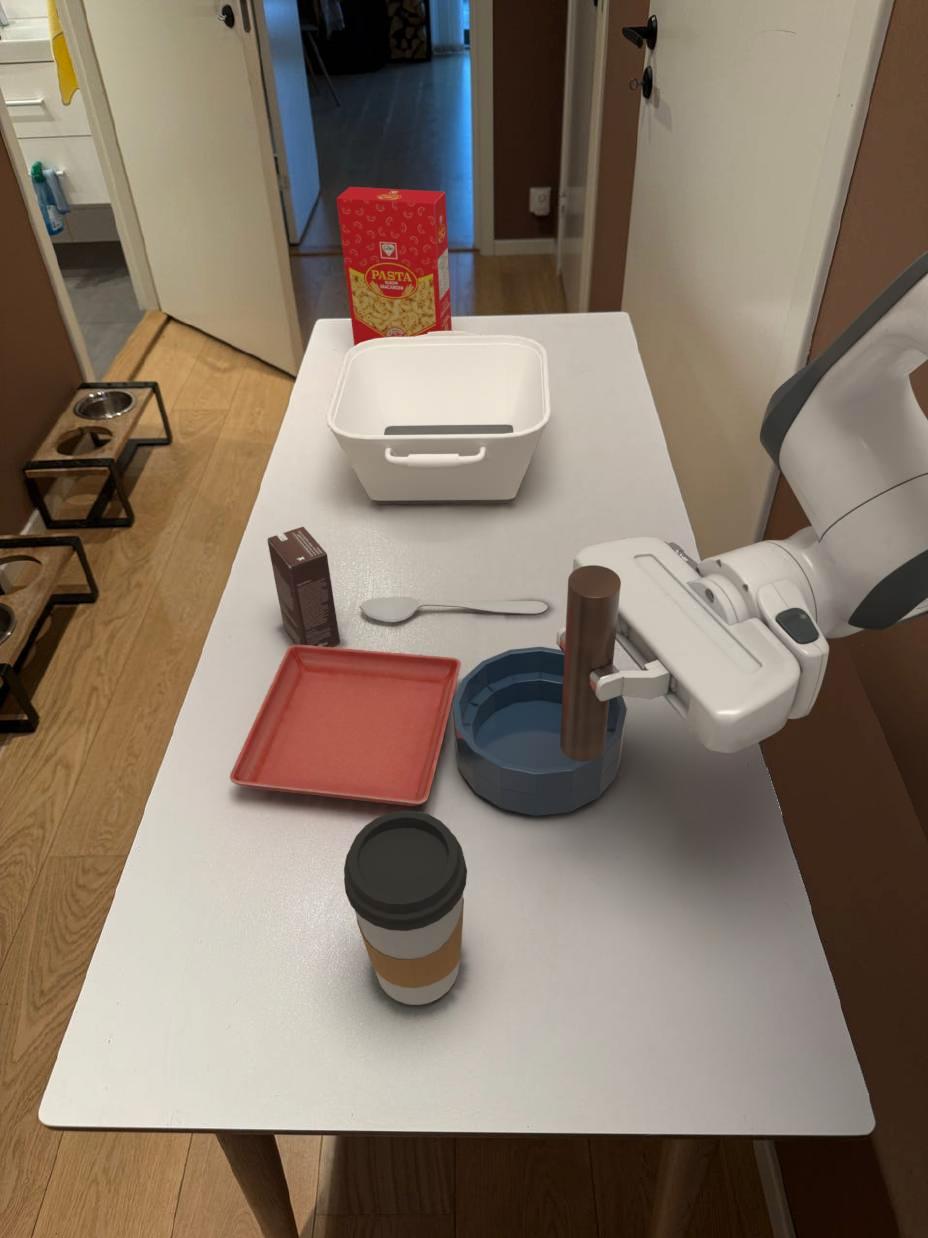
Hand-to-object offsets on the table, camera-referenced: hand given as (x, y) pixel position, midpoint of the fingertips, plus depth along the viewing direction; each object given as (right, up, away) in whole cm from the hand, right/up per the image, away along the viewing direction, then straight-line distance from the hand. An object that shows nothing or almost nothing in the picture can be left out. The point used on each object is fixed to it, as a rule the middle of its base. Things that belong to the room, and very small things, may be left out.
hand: (577, 665), depth 64 cm
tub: (-10, +23, +60) cm, 65 cm away
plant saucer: (-18, -8, +24) cm, 32 cm away
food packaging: (-17, +45, +85) cm, 98 cm away
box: (-24, +1, +36) cm, 43 cm away
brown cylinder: (+1, -6, +6) cm, 9 cm away
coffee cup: (-11, -24, +7) cm, 27 cm away
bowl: (-1, -9, +22) cm, 24 cm away
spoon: (-9, +4, +38) cm, 39 cm away
